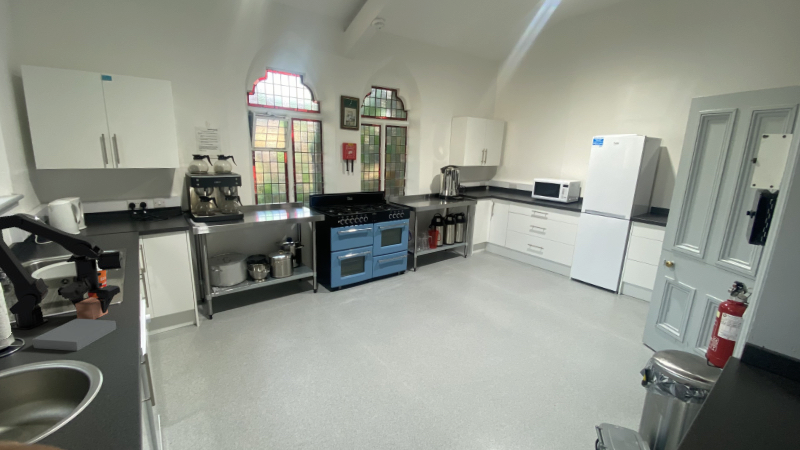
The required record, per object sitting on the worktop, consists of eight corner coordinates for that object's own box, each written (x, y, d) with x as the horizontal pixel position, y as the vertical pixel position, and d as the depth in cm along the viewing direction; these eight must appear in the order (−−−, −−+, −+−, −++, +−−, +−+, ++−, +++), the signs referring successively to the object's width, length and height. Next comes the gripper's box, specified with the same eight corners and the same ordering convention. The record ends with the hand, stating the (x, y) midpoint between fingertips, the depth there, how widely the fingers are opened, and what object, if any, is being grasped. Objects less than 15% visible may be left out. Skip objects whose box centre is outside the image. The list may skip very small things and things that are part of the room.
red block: (77, 319, 125) (75, 303, 124) (92, 312, 131) (90, 297, 130) (93, 320, 125) (91, 304, 124) (107, 313, 131) (106, 298, 130)
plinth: (33, 348, 106) (32, 339, 106) (77, 326, 120) (76, 318, 120) (77, 350, 106) (76, 341, 105) (116, 328, 120) (115, 320, 119)
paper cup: (95, 302, 139) (91, 269, 136) (80, 300, 140) (76, 267, 137) (115, 295, 146) (111, 264, 144) (100, 293, 148) (96, 262, 145)
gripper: (38, 278, 117) (45, 320, 120) (91, 281, 117) (97, 323, 119) (70, 267, 128) (76, 307, 131) (119, 270, 127) (123, 310, 130)
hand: (92, 312), depth 128 cm, fingers open, 9 cm apart
